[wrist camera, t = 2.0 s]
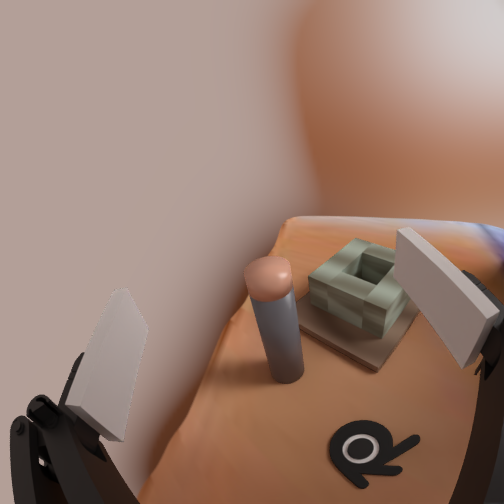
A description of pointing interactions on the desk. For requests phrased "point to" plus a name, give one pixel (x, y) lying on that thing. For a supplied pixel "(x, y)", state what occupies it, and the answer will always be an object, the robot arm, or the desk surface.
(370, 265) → the socket
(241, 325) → the desk surface
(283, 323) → the peg
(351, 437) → the blender logo cutout
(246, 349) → the desk surface
